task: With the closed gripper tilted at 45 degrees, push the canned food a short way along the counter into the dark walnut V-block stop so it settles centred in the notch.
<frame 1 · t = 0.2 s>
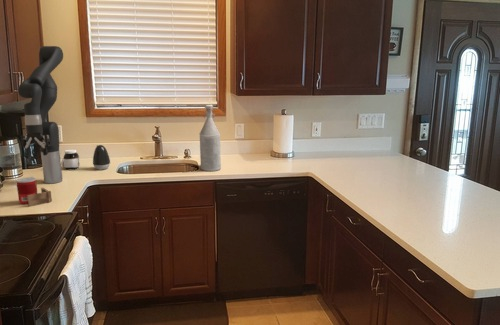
hand: (37, 155, 211), 18 cm above the worktop, tool pointing down, fingers open, 8 cm apart
grey bottle: (210, 168, 258), on the worktop
black egg shaped device: (102, 169, 258), on the worktop
v-block stop: (36, 201, 193), on the worktop
canned food: (29, 202, 194), on the worktop
spread jar: (70, 168, 260), on the worktop
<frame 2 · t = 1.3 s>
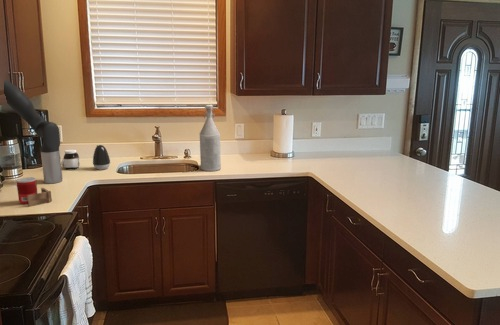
nothing on the worktop moved.
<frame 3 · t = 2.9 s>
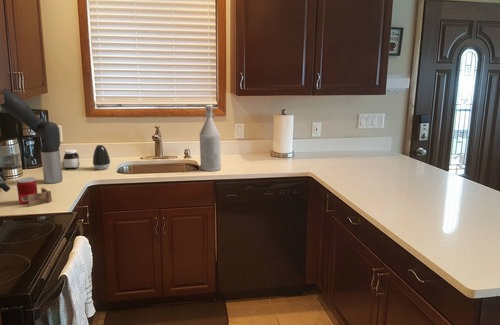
hand: (8, 190, 192), 6 cm above the worktop, tool tilted 45°, fingers closed
nothing on the worktop moved.
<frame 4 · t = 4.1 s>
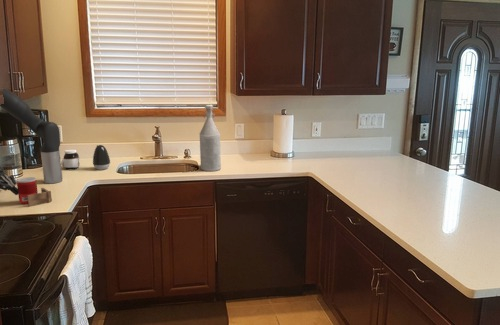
hand: (18, 193, 193), 4 cm above the worktop, tool tilted 45°, fingers closed
canned food: (29, 202, 194), on the worktop, touching gripper
everything else where it was.
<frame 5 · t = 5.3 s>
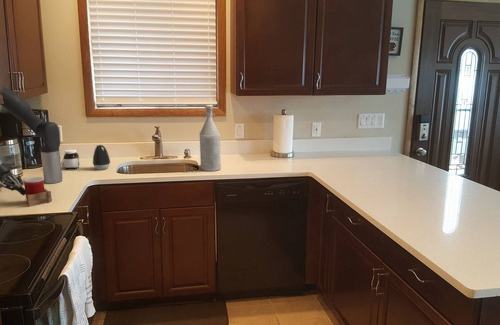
hand: (25, 193, 192), 4 cm above the worktop, tool tilted 45°, fingers closed
canned food: (36, 202, 193), on the worktop, touching gripper, v-block stop
everything else where it was.
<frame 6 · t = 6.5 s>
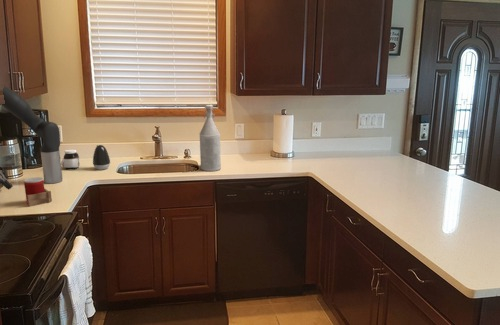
hand: (10, 187, 192), 7 cm above the worktop, tool tilted 45°, fingers closed
canned food: (36, 202, 193), on the worktop
everything else where it was.
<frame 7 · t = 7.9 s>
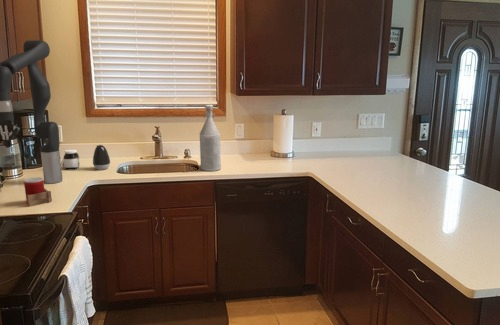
hand: (8, 147, 194), 25 cm above the worktop, tool pointing down, fingers closed
nothing on the worktop moved.
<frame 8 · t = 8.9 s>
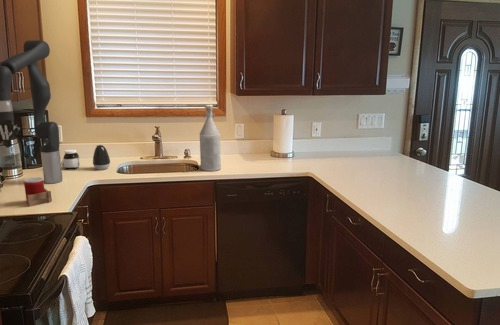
hand: (8, 147, 194), 25 cm above the worktop, tool pointing down, fingers closed
nothing on the worktop moved.
at the end: canned food 0.1 cm from the v-block stop (horizontally); canned food tilted 0° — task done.
